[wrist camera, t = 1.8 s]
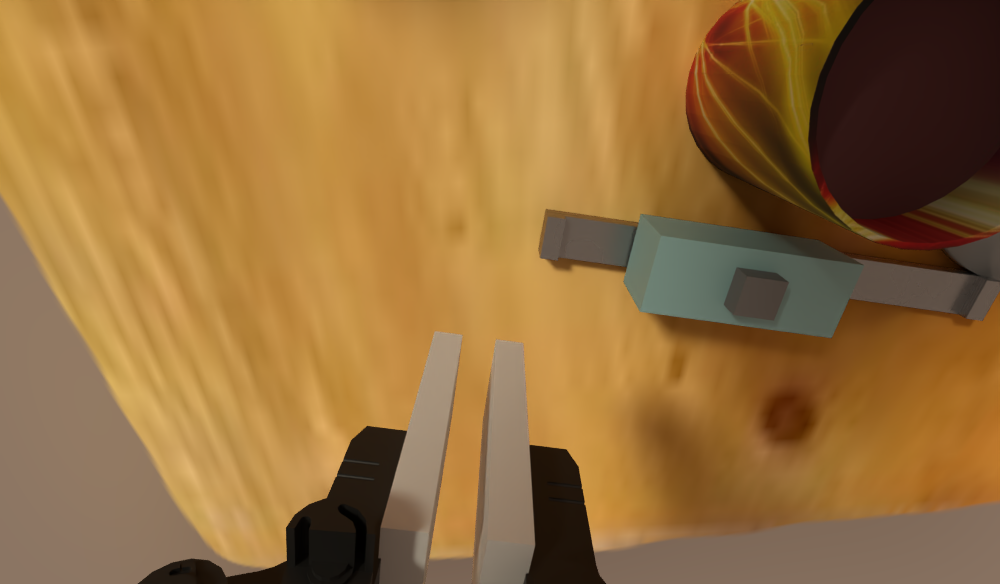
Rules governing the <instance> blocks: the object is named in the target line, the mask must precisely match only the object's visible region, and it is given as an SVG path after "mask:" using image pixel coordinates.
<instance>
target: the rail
mask: <svg viewBox="0 0 1000 584" xmlns="http://www.w3.org/2000/svg"><path fill="white" fill-rule="evenodd" d="M637 227H638V223H637V222H630V221H624V220H617V219H610V218H603V217H596V216H589V215H582V214H576V213H569V212H562V211H555V210H548V209H546V211H545V216H544V222H543V227H542V232H541V238H540V243H539V255H540V258H543V259H550V260H557V261H558V257H560V258H567V259H574V260H581V261H588V262H595V263H602V264H609V265H616V266H623V267H627V266H628V262H629V258H630V254H631V250H632V247H633V243H634V239H635V235H636V231H637ZM841 253H842V252H841ZM843 254H845V255H847V256H848V257H850V258H852V259H854V260H856V261H858V262H859V263H861V264H863V265H864V268H863V270H862V272H861V274H860V277H859V279H858V281H857V283H856V285H855V288H854V290H853V292H852V294H851V296H850V299H856V300H863V301H870V302H877V303H884V304H891V305H898V306H905V307H912V308H919V309H926V310H933V311H940V312H947V313H954V314H959V315H960V316H962V317H964V318H966V319H973V320H980V321H983V319H984V317H985V315H986V314H987V312H988V310H989V309H990V307H991V305H992V303H993V302H994V300H995V298H996V296H997V295H998V293H999V291H1000V281H999V280H996V279H994V278H991V277H984V276H980V275H977V274H975V273H973V272H971V271H965V270H958V269H952V268H945V267H938V266H931V265H924V264H917V263H911V262H904V261H897V260H890V259H883V258H876V257H870V256H863V255H856V254H849V253H843Z"/></svg>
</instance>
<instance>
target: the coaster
mask: <svg viewBox="0 0 1000 584" xmlns="http://www.w3.org/2000/svg"><path fill="white" fill-rule="evenodd" d="M941 250H942V251H943V252H944V253H945V254H946V255H947V256H948V257H949V258H950V259H951V260H952V261H954V262H955V263H956V264H958V265H959V266H961V267H963V268H965V269H966V270H968V271H971V272H973V273H975V274H977V275H980V276H984V277H991V278H994V279H996V280H999V281H1000V232H999V233H997V234H994V235H992V236H990V237H988V238H985V239H981V240H978V241H975V242H971V243H968V244H965V245H961V246H958V247H951V248H943V249H941Z"/></svg>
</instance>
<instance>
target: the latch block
mask: <svg viewBox="0 0 1000 584" xmlns="http://www.w3.org/2000/svg"><path fill="white" fill-rule="evenodd" d="M863 268H864V265H863V264H861V263H859V262H858V261H856V260H854V259H852V258H850V257H848V256H847V255H845V254H843V253H841V252H839V251H837V250H836V249H834V248H832V247H830V246H828V245H826V244H825V243H823V242H821V241H819V240H814V239H807V238H801V237H794V236H787V235H780V234H773V233H767V232H760V231H753V230H746V229H739V228H733V227H726V226H719V225H712V224H705V223H699V222H692V221H685V220H678V219H671V218H665V217H658V216H651V215H644V214H641V216H640V220H639V223H638V227H637V231H636V235H635V239H634V243H633V247H632V250H631V254H630V258H629V262H628V266H627V270H626V274H625V277H624V281H623V282H624V284H625V285H626V287H627V289H628V291H629V293H630V294H631V296H632V298H633V300H634V302H635V304H636V305H637V307H638V309H639V311H640V312H646V313H654V314H661V315H668V316H675V317H682V318H690V319H697V320H704V321H711V322H719V323H726V324H733V325H740V326H747V327H755V328H762V329H769V330H776V331H784V332H791V333H798V334H805V335H813V336H820V337H827V338H832V336H833V334H834V332H835V329H836V327H837V325H838V323H839V321H840V318H841V316H842V314H843V312H844V310H845V307H846V305H847V303H848V301H849V299H850V296H851V294H852V292H853V290H854V288H855V285H856V283H857V281H858V279H859V277H860V274H861V272H862V270H863Z"/></svg>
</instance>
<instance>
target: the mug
mask: <svg viewBox="0 0 1000 584" xmlns="http://www.w3.org/2000/svg"><path fill="white" fill-rule="evenodd" d="M686 115H687V119H688V124H689V129H690V131H691V134H692V136H693V138H694V140H695V143H696V145H697V146H698V148H699V149H700V150H701V152H702V153H703V154H704V156H705V157H706V158H707V159H708V160H709V161H710V162H711V163H713V164H714V165H715V166H716V167H717V168H719V169H720V170H722V171H724V172H726V173H728V174H730V175H732V176H734V177H736V178H738V179H741V180H743V181H745V182H747V183H749V184H751V185H753V186H756V187H758V188H760V189H762V190H764V191H766V192H768V193H770V194H773V195H775V196H777V197H779V198H781V199H783V200H785V201H788V202H790V203H792V204H794V205H796V206H798V207H800V208H803V209H805V210H807V211H809V212H811V213H813V214H815V215H818V216H820V217H822V218H824V219H826V220H828V221H830V222H833V223H835V224H837V225H839V226H841V227H843V228H845V229H848V230H850V231H852V232H854V233H856V234H858V235H860V236H862V237H865V238H867V239H869V240H871V241H873V242H875V243H879V244H883V245H887V246H891V247H895V248H899V249H908V250H936V249H943V248H951V247H958V246H961V245H965V244H968V243H971V242H975V241H978V240H981V239H985V238H988V237H990V236H992V235H994V234H997V233H999V232H1000V0H740V1H739V2H737V3H736V4H735V5H734V6H733V7H732V8H731V9H729V10H728V11H727V12H726V13H725V14H724V15H723V16H722V17H720V19H719V20H718V21H717V22H716V24H715V25H714V26H713V27H712V29H711V30H710V31H709V32H708V34H707V35H706V37H705V39H704V40H703V42H702V44H701V46H700V48H699V49H698V51H697V53H696V55H695V58H694V61H693V64H692V67H691V69H690V72H689V77H688V83H687V88H686Z"/></svg>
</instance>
